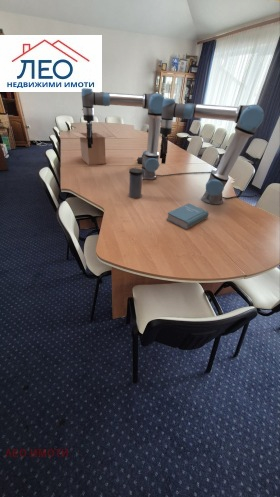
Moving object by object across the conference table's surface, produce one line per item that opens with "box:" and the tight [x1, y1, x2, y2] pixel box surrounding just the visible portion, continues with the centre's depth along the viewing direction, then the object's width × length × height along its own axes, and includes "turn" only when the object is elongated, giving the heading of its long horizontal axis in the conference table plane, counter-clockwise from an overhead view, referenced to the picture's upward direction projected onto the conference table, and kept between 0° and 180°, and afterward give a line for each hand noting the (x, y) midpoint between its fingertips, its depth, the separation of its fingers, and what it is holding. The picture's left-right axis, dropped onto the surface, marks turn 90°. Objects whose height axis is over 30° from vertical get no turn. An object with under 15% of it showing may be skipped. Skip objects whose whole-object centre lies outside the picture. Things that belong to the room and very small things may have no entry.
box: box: [70, 129, 114, 166], centre depth 229 cm, size 44×36×27 cm
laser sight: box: [136, 154, 143, 165], centre depth 237 cm, size 10×22×10 cm, turn 78°
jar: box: [128, 173, 143, 199], centre depth 164 cm, size 9×9×19 cm
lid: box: [128, 167, 143, 175], centre depth 159 cm, size 10×10×2 cm
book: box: [166, 203, 209, 230], centre depth 143 cm, size 23×16×5 cm
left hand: (90, 146), depth 173 cm, fingers open, 13 cm apart
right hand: (162, 160), depth 157 cm, fingers open, 13 cm apart
